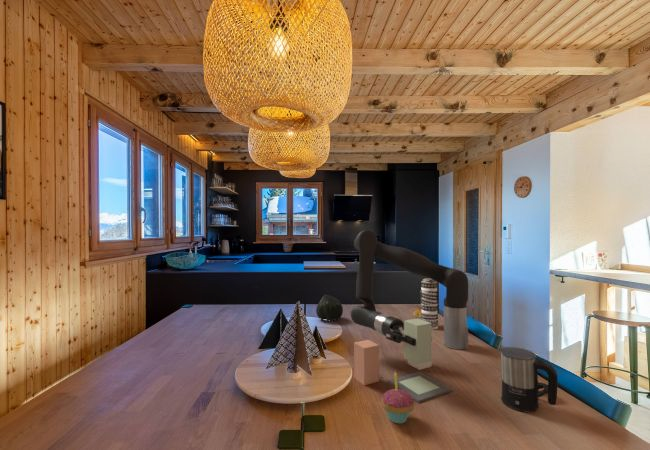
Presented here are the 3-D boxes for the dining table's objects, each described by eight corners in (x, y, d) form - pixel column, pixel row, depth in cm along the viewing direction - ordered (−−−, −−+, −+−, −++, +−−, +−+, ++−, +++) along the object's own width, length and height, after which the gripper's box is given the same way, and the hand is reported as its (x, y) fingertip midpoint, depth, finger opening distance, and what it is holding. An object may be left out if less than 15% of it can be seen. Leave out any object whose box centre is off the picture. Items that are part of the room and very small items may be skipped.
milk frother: (503, 409, 87) (502, 355, 88) (494, 383, 102) (493, 337, 102) (564, 419, 82) (563, 363, 83) (545, 390, 97) (544, 343, 97)
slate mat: (387, 382, 103) (387, 380, 103) (419, 373, 109) (419, 371, 110) (418, 402, 91) (418, 400, 91) (451, 391, 97) (451, 389, 97)
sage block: (404, 357, 102) (404, 320, 102) (417, 354, 104) (417, 318, 105) (417, 364, 96) (417, 325, 96) (431, 361, 99) (431, 323, 99)
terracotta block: (354, 377, 107) (354, 342, 107) (368, 373, 109) (368, 339, 110) (364, 385, 101) (363, 348, 101) (379, 381, 104) (378, 345, 104)
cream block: (407, 363, 118) (407, 331, 118) (419, 360, 120) (419, 329, 120) (419, 369, 112) (418, 336, 112) (431, 366, 115) (431, 333, 115)
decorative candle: (440, 325, 164) (440, 278, 164) (436, 330, 156) (436, 280, 157) (423, 323, 169) (422, 277, 169) (418, 327, 161) (417, 279, 161)
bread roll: (425, 319, 176) (425, 312, 176) (411, 316, 182) (411, 309, 182) (433, 317, 181) (432, 310, 181) (419, 314, 188) (419, 307, 188)
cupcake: (378, 410, 87) (377, 367, 87) (407, 408, 88) (407, 365, 88) (387, 429, 79) (386, 381, 79) (419, 427, 79) (419, 380, 80)
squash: (350, 311, 172) (339, 289, 181) (328, 317, 164) (317, 293, 172) (339, 324, 181) (329, 301, 189) (318, 330, 173) (308, 306, 181)
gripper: (373, 318, 110) (405, 332, 95) (404, 313, 116) (439, 326, 102) (373, 339, 110) (405, 357, 95) (404, 333, 116) (439, 349, 101)
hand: (423, 341), depth 98 cm, fingers closed on sage block, 6 cm apart
